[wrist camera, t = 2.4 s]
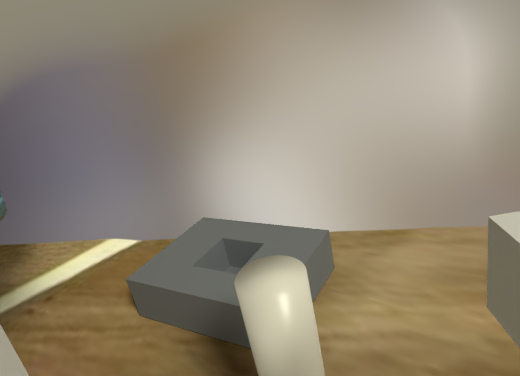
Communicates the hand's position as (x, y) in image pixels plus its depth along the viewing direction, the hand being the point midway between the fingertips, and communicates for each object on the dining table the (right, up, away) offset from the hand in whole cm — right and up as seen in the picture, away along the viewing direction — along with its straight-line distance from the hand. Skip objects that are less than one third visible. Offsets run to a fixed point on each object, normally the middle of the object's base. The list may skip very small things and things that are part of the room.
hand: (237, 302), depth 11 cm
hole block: (-2, -9, +36) cm, 37 cm away
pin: (+4, -15, +17) cm, 23 cm away
